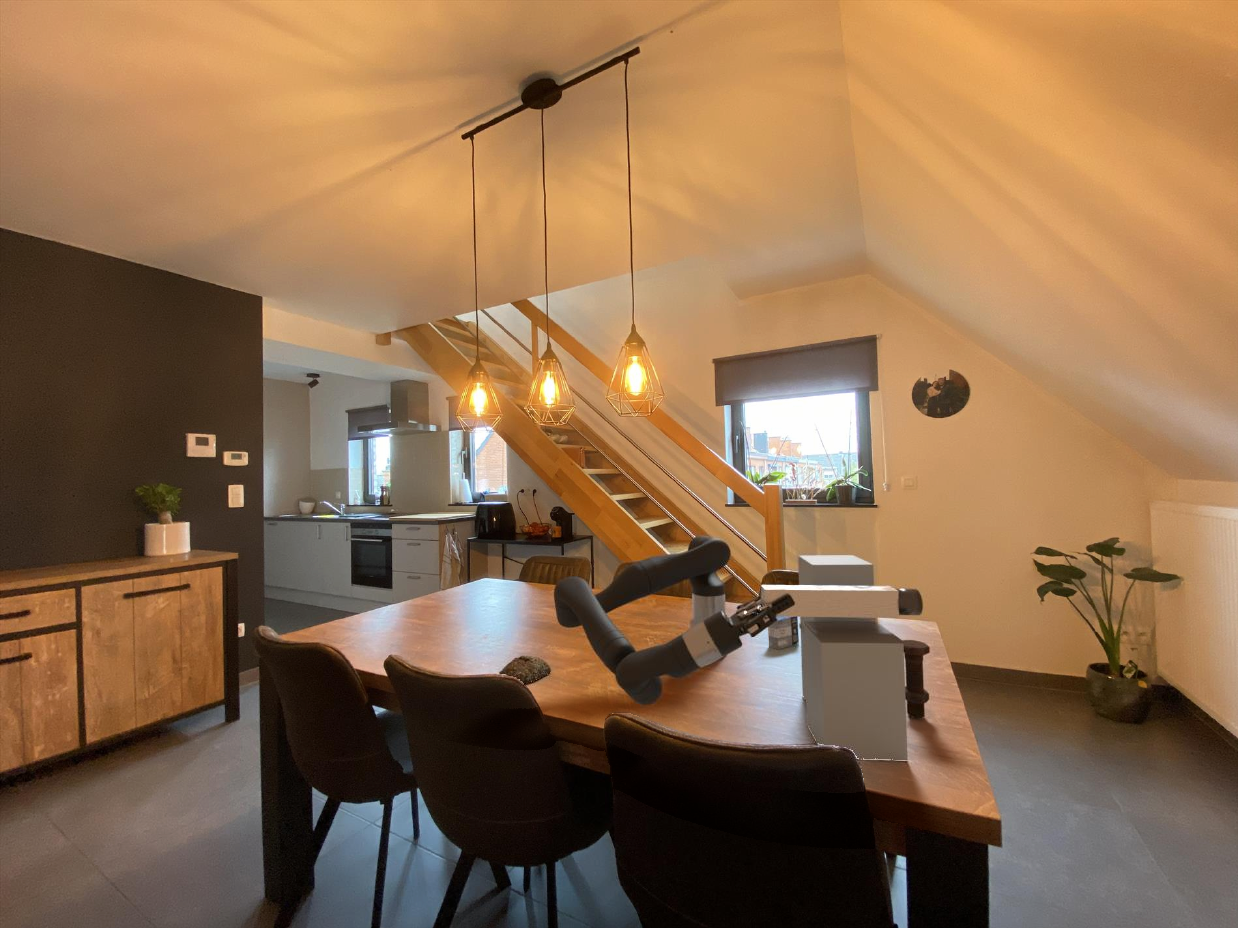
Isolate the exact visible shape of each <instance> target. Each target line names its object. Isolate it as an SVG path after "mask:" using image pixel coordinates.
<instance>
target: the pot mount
mask: <svg viewBox="0 0 1238 928" xmlns="http://www.w3.org/2000/svg"><path fill="white" fill-rule="evenodd" d="M797 558H798V585H828V586H875V579H874V578H875V576H874V573H875V572H874V571H875V570H874V564H873V563H871V562H869V561H866V560H865V559H862V558H860V557H858V556H855V555H854V554H848V555H847V554H845V555H843V554H840V555H839V554H837V555H836V554H835V555H834V554H832V555H831V554H829V555H828V554H827V555H823V554H819V555H813V554H812V555H811V554H810V555H809V554H808V555H798V556H797ZM799 620H800V622H798V629H800V648H801V649H800V651H801V652H800V653H801V654H800V656H801V683H802V684H801V685H802V690H801V691H802V697H803V696H804V698H805V699H804V698H803V699H804V701H805V700H806V701H805V702H807V703H806V718H807V719H806V724H808V726H809V728H810V730H811V732H812V734H813V735H814V737H815V739H816V741H815V744H817V743H819V744H824V745H835V746H839V747H846V748H848V749H851V750H853V752H854V753H855V755H856V756H857V758H859V760H858V761H864V760H863V758H864V759H875V758H876V759H891V760H892V759H893V760H908V736H907V735H908V733H907V728H908V726H907V700H906V699H905V686H906V670H905V656H904V643H903V641H902V640H903V639H901V638H900V637H898V636H897V635H895V634H894V633H893V632H892V631H890V630H889V629H888V628H886V627H884V626H883V625H882V624H880V623H879V622H877V621H876V618H857V617H799ZM808 726H807V727H808ZM809 728H808V729H809ZM810 730H809V731H810ZM811 732H810V733H811ZM812 734H811V735H812ZM815 739H814V740H815ZM861 759H862V760H861Z"/></svg>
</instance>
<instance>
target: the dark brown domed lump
mask: <svg viewBox="0 0 1238 928" xmlns="http://www.w3.org/2000/svg"><path fill="white" fill-rule="evenodd" d="M550 672H551V673H552V669H551V666H550V665H549V664H548V662H546V661H545V660H544V659H542V658H540V657H535V656H529V655H520V656H519V657H518V656H517V657H514V659H512V660H511V661H510V662H508V663H507V664H506V665H505V666H504V667H503V668H502V669H501V670H500V671H498V673H499V674H506V675H508V676H513V677H516V678H517V679H520V681H522V682H523V683H526V684H525V685H528V684H530V683H529V682H531V681H534V682H535V680H536V679H539V680H541V679H542V678H541V677H543V676H544V677H547V676H548V675H547V674H549V675H550V674H551V673H550ZM499 674H498V675H499ZM546 675H547V676H546ZM544 677H543V678H544ZM540 678H541V679H540ZM536 681H537V680H536ZM527 683H528V684H527ZM531 683H532V682H531Z"/></svg>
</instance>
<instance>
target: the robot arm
mask: <svg viewBox="0 0 1238 928" xmlns="http://www.w3.org/2000/svg"><path fill="white" fill-rule="evenodd" d="M731 552H732V551H731V548H730V546H729V544H728V543H727V542H726V541H724V540H722V539H721V538H719V537H714V536H707V535H696V536H695V537H693V538H692V539H691V541H690V542H689V544H688V547H687V551H683V552H679V553H669V554H659V555H654V556H651V557H647V558H644V559H641V560H638V561H636V562H632V563H630V564H629V565H627V566H626V567H625V568H624V569H623V570H621V572H620V573H619V574H618V575H617V576H616V577H615V578H614V579H613V580H612V582H611V583H609V585H608V586H607V587H605V588H604V589H603V590H602V591H600V592H598V593H594V591H593V590H592V588H591V586H590V584H589V583H588V582H587V581H586V580H585V579H583V578H582V577H579V576H568V577H565V578H562V579H561V580H559V581H558V582H557V583H556V585H555V587H554V588H553V598H554V601H553V602H554V607H555V614H556V619H557V622H558V624H559V625H560V626H561V627H564V628H568V629H571V628H579V627H581V626H582V628H583V630H584V633H585V636H586V638H587V640H588V642H589V644H590V646H591V648H592V650H593V651H594V653H595V654H596V656H597V657H598V659H599V660H600V661H601V662H602V663H603V665H604V666H605V667H606V668H607V669H608V670H609V671H610V672H611V673H612V674H614V676H615V681H616V683H617V685H618V686H619V687H620V688H621V689H622V691H624V692H625V693H626V694H627V695H628V696H629V697H630V698H631V700H632V701H634V702H635V703H637V704H639V705H642V706H649V705H653V704H654V703H656V702H657V701H658V700H659V698H660V697H661V695H662V692H663V681H662V678H661V677H663V676H668V677H671V678H672V679H675V680H679V679H683V678H685V677H687V676H689V675H690V674H693V673H694V672H696V671H698V670H699V669H701V668H703V667H705V666H708V665H711V664H713V663H715V662H717V661H718V660H720V659H722V658H724V657H726V656H728V655H730V654H731V653H733V652H735V651H737V650H738V649H740V648H742V647H743V641H742V639H741V637H742V636H745V635H747V634H749V635H750V638H755V637H756V636H758V635H759V634H760V633H762V632H763V631H764V630H766V629H768V627H769V626H770V625H771V624H773V623H774V622H776V621H777V618H776V617H777V616H778V614H779V613H781V612H783V611H785V610H787V609H788V608H790V607H792V606H794V605H795V602H794V600H793V599H792V597H791V596H790V595H789V594H786V595H785V596H783V597H781V598H779V599H778V600H776V601H774V602H772V604H773V605H772V604H771V603H770V604H768V605H766V606H763V607H761V595H759V596H757V597H755V598H753V599H750V600H749V601H748V600H747V601H746V602H744V603H741V604H739V605H737V607H736V609H737V610H735V613H733V614H732V615H731V616H729V617H728V615H727V614H726V587H725V586H726V585H725V583H724V581H722V580H721V579H720V577H719V576H718V574H717V571H720V570H722V569H723V568H724V567H725V566H726V565H727V564H728V563H729V561H730V558H731V554H732V553H731ZM686 580H689V581H688V582H689V584H690V586H691V594H692V595H691V596H692V597H691V599H692V618H691V619H690V620H689V623H690V624H689V626H690V627H689V629H687V630H686V631H685V632H684V633H682V634H680V635H678V636H676V637H674V638H673V639H671V640H669V641H667V642H666V643H664V644H659V645H654V646H651V647H647V648H644V649H640V650H636V649H635V647H634V646H633V644H632V643H631V642H630V640H629V639H628V637H626V635H624V634H623V632H622V631H621V630H620V629H619V628H618V627H617V626H616V625H615V623H614V622H613V621H612V620H611V618H610V617H609V616H608V614H609V613H610V612H612V611H614V610H616V609H619V608H621V607H623V606H625V605H627V604H629V603H632V602H635V601H637V600H640V599H643V598H646V597H648V596H652V595H653V594H657V593H659V592H661V591H663V590H665V589H668V588H671V587H673V586H676V585H677V584H679V583H680V584H681V583H682V582H684V581H686ZM765 615H767V616H765Z"/></svg>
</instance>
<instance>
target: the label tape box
mask: <svg viewBox="0 0 1238 928" xmlns="http://www.w3.org/2000/svg"><path fill="white" fill-rule="evenodd" d="M776 618H777V621H776V622H774V623H773V624H771V625H770V626H769V627H767V633H768V634H767V635H768V646H769V647H770V648H773V649H775V650H782V649H785V648H788V647H791V646H795V645H799V643H800V641H799V640H800V638H799V620H798V618H799V617H791V616H777V617H776Z"/></svg>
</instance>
